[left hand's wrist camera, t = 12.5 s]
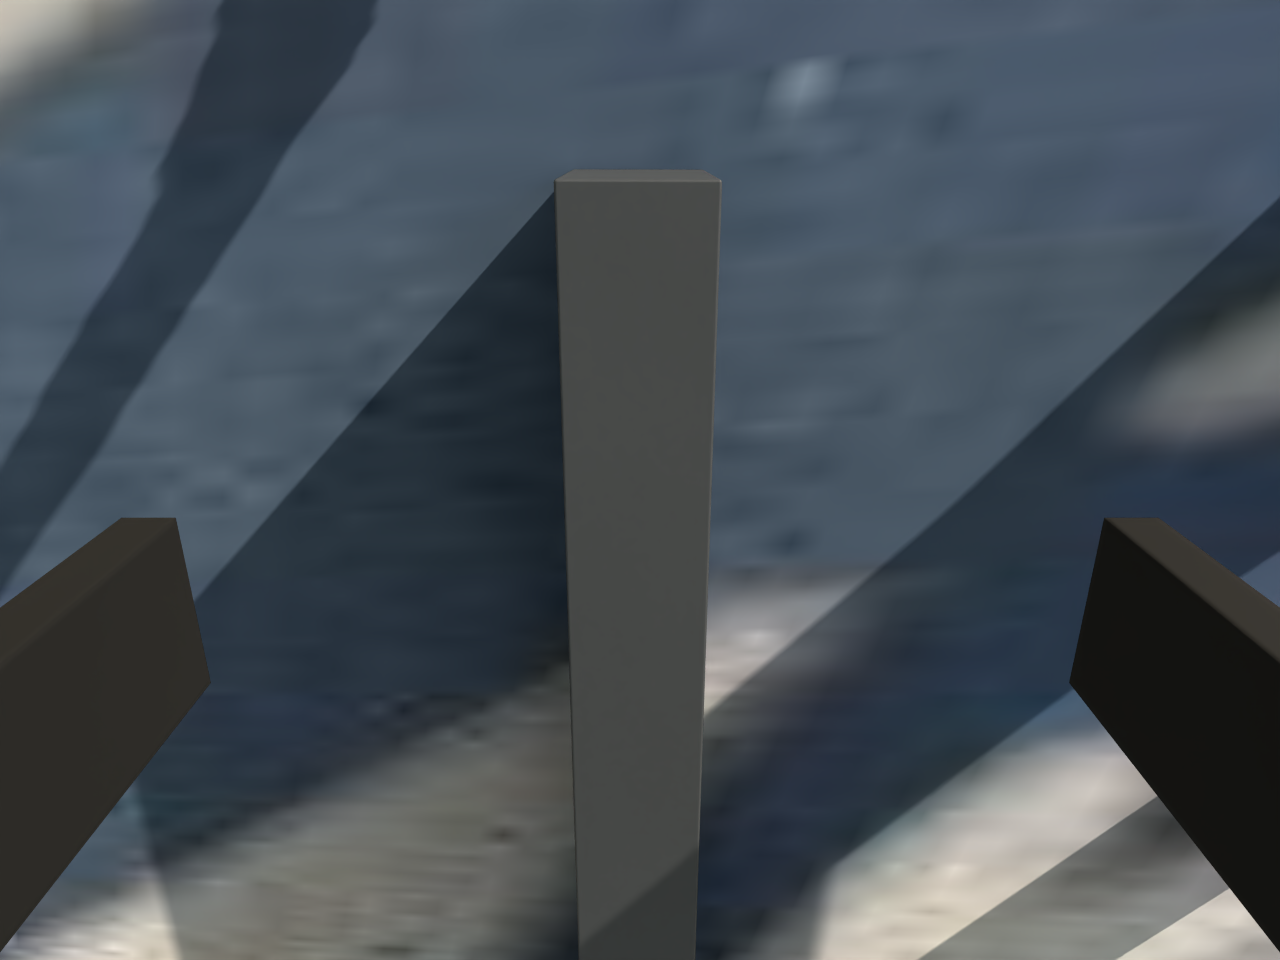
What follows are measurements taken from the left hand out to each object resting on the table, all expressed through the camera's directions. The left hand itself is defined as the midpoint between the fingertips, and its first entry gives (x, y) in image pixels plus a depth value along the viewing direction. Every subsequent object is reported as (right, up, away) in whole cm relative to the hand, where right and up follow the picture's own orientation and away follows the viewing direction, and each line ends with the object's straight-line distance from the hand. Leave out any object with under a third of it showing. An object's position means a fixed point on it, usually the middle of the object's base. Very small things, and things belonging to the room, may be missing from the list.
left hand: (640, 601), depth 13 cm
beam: (0, -13, +31) cm, 33 cm away
